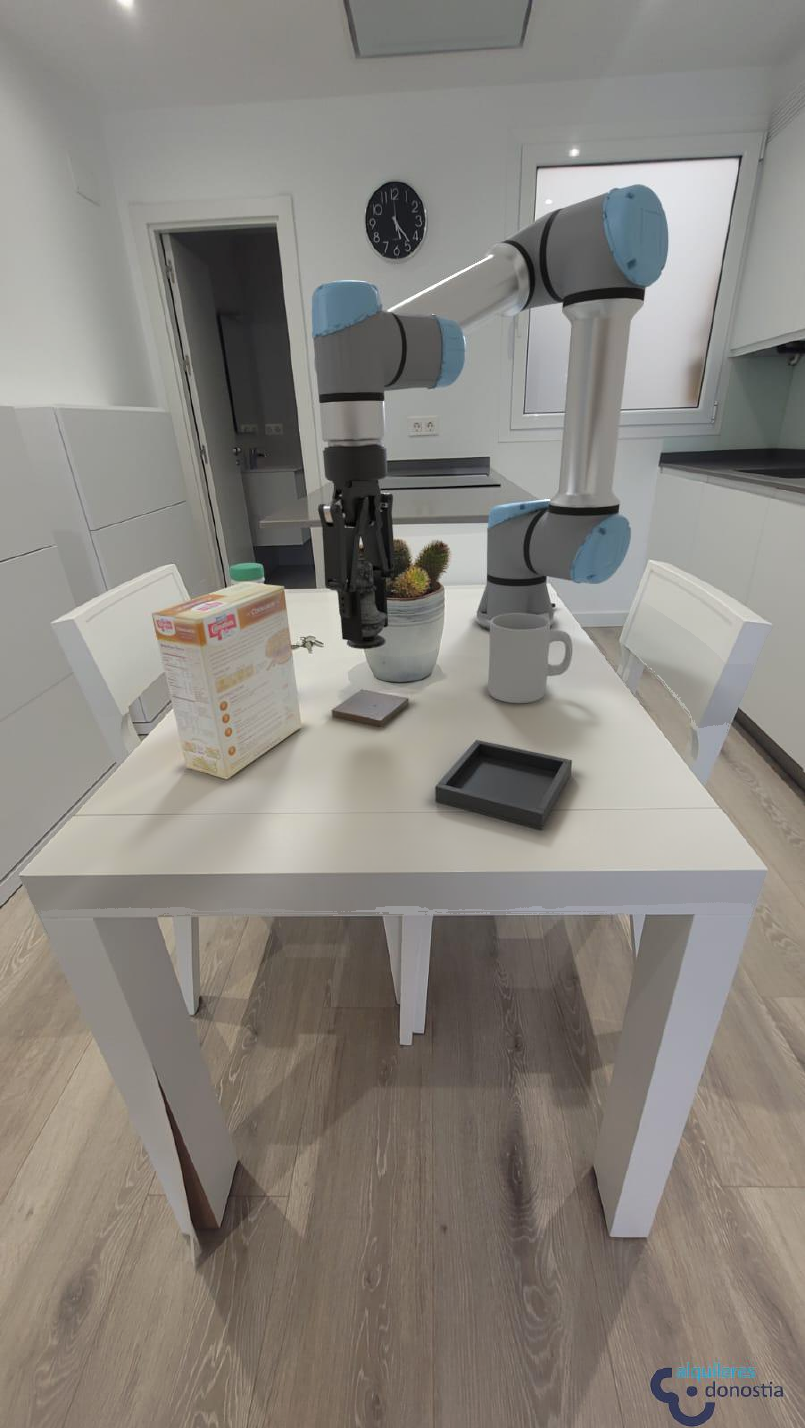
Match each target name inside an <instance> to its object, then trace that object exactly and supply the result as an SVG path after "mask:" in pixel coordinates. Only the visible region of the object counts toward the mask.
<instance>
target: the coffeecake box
mask: <svg viewBox="0 0 805 1428" xmlns="http://www.w3.org/2000/svg"><path fill="white" fill-rule="evenodd" d="M150 615H151V618H152V622H153V623H152V624H153V627H154V631H155V636H156V639H157V644H158V648H159V652H160V657H161V662H162V665H163V666H162V667H163V670H164V675H165V680H166V683H167V687H168V692H169V696H170V700H171V705H172V710H173V714H174V719H175V722H176V727H177V731H178V736H179V741H180V745H181V749H182V754H183V757H184V758H183V759H184V762H185V767H186V768H187V769H189V770H194V771H197V772H200V773H205V774H209V775H211V776H215V777H218V778H221V779H224V780H229V779H230V778H231V777H232V776H234V775H236V774H237V773H238V772H240V771H241V770H243V769H244V768H245V767H246V766H249V764H251V763H252V762H254V761H255V760H257V759H258V758H260V757H261V756H262V755H264V754H265V753H266V752H268V751H269V750H271V749H272V748H274V747H275V746H276V745H278V744H279V743H281V742H282V741H284V740H285V739H287V738H288V737H289V736H291V735H292V734H294V733H295V732H297V731H299V729H301V728H302V727H303V726H302V719H301V710H300V704H299V703H300V702H299V695H298V688H297V679H296V671H295V664H294V663H295V662H294V655H293V650H292V649H293V648H292V640H291V632H290V624H289V615H288V609H287V600H286V592H285V586H284V585H277V584H276V585H275V584H274V585H273V584H265V583H264V584H260V583H256V582H241V583H238V584H235V585H233V584H232V585H230V586H227V587H225V588H221V589H218V590H215V591H213V592H209V593H207V594H204V595H201V596H197V597H195V598H192V599H189V600H186V601H183V602H181V603H178V604H175V605H171V606H168V607H166V608H163V609H159V610H157V611H154V612H151V614H150Z"/></svg>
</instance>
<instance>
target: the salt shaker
mask: <svg viewBox="0 0 805 1428" xmlns="http://www.w3.org/2000/svg"><path fill="white" fill-rule="evenodd" d="M364 557H365V554H364V553H362V552H361V551H359V555H358V566H357V577H356V587H355V590H359V591H360V602H361V617H362V633H363V640H362V641H361V642H357V641H350V640H346V645H347V646H348V647H349V648H352V649H357V650H358V649H359V650H371V649H376V648H380V647H382V646H384V645H385V644H386V642H387V640H386V638H384V637H383V636H381V635H380V633H381V632H382V631H383V629H384V628H385V627H384V624H385V619H386V618H387V615H386V614H385V613H383V612H379V611H378V610H377V608H376V604H375V592H374V591H375V590H376V589H377V588H376V587H375V586H374V584H373V567H372V564H371V563H370V562H369V561H367V560H366V558H364Z"/></svg>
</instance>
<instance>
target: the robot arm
mask: <svg viewBox="0 0 805 1428" xmlns="http://www.w3.org/2000/svg"><path fill="white" fill-rule="evenodd" d="M669 241H670V240H669V225H668V220H667V216H666V211H665V210H664V207H663V204H662V201H661V200H660V198H659V196H658V194H657V193H656V191H654V190H653V189H652V188H650V187H649V186H648V185H645V184H641V183H637V184H632V185H629V186H624V187H621V188H618V187H614V188H612V189H610V190H609V191H607V192H605V193H602V194H598V195H597V196H593V197H590V198H587V199H584V200H582V201H579V202H576V203H574V204H573V203H572V204H570V205H567V206H565V207H562V208H558V209H555V210H553V211H550V212H548V213H546V214H544V215H542V216H540V217H539V218H537V219H536V220H534V221H532V222H531V223H529V224H527V225H526V226H524V227H523V228H521V229H520V230H518V231H516V232H515V233H513V234H511V235H510V236H508V237H506V238H505V239H504V240H502V241H500V242H498V243H496V244H494V245H493V246H491V247H490V248H489V249H488V250H487V251H486V253H485V254H484V256H483V258H482V260H481V261H479V262H477V263H475V264H472V265H471V266H468V267H467V268H465V269H463V270H461V271H459V272H457V273H455V274H453V275H451V276H449V277H447V278H446V279H444V280H442V281H440V282H438V283H436V284H434V285H432V286H429V287H428V288H426V289H424V290H422V291H420V292H418V293H416V294H415V295H413V296H410V297H409V298H407V299H405V300H403V301H401V302H398V303H397V304H394V305H393V306H391V307H389V308H387V309H383V304H382V301H381V292H380V289H379V288H378V286H376V284H373V283H370V282H369V281H363V280H355V279H353V280H351V279H350V280H347V279H346V280H345V279H344V280H335V281H329V282H326V283H325V282H324V283H322V284H321V285H318V286H317V287H316V288H315V289H314V291H313V294H312V296H311V327H312V328H311V330H312V331H311V337H312V341H313V349H314V350H313V351H314V360H313V362H314V370H315V373H316V383H317V393H318V395H317V396H318V402H319V413H320V427H321V439H322V441H323V442H324V443H325V442H327V446H325V447H324V448H323V449H324V450H322V458H323V469H324V478H325V479H326V480H327V481H329V482H332V483H333V492H332V495H331V496H332V497H331V498H332V499H331V501H329V502H328V503H320V504H318V506H317V511H318V514H319V520H320V523H321V531H322V534H321V535H322V551H323V568H324V569H323V570H324V571H323V572H324V585H325V588H326V589H328V590H330V591H335V592H336V593H337V599H338V600H337V602H338V611H339V613H338V614H339V617H340V627H341V640H344V641H348V640H350V641H357V642H361V641H362V640H363V633H362V617H361V602H360V591H359V590H355V587H356V577H357V566H358V559H359V556H358V555H359V554H360V544H361V545H362V548H363V552H364V553H363V554H364V557H365V560H367V561H369V562H370V563H371V564H372V567H373V584H374V586H375V587H376V588H377V589H376V590H375V591H374V592H375V604H376V608H377V610H378V611H379V612H383V613H385V614H386V615H387V618H386V619H385V624H384V627H383V628H387V627H389V619H388V618H389V616H388V615H389V613H388V598H387V597H388V595H387V594H388V593H387V591H388V590H387V579H393V578H394V575H395V571H394V570H395V568H396V557H395V543H394V542H395V540H394V527H393V525H394V524H393V503H394V496H393V494H392V493H389V492H388V493H386V492H382V490H381V487H380V482H379V480H383V479H386V477H387V476H388V457H387V456H388V455H387V453H388V452H387V448H386V446H385V444H383V443H382V441H383V440H385V439H386V438H387V426H386V409H385V392H388V391H389V392H390V391H399V390H400V391H401V390H409V389H423V388H424V389H427V390H435V389H436V388H446V387H449V386H451V385H453V384H454V383H455V382H457V380H458V379H459V377H460V375H461V373H462V371H463V368H464V366H465V363H466V352H467V350H466V339H465V338H466V337H465V336H466V335H468V334H470V333H472V332H473V331H475V330H477V329H478V328H480V327H482V326H484V325H486V324H488V323H489V322H491V321H492V320H495V319H496V318H498V317H503V318H511V317H514V316H516V315H517V314H520V313H521V312H523V311H526V310H530V309H534V308H539V307H544V306H550V305H556V304H562V305H561V308H562V309H561V313H562V314H563V315H564V316H565V317H566V319H567V320H568V322H569V323H570V325H571V326H570V336H569V337H570V339H569V351H568V365H567V378H566V391H565V403H564V404H565V405H564V416H563V429H562V430H563V431H562V441H561V444H562V446H561V455H560V456H561V457H560V467H559V468H560V469H559V479H558V480H559V481H558V490H557V492H556V493H555V495H554V496H552V498H550V499H538V500H529V501H528V500H527V501H521V502H520V501H519V502H511V503H503V504H499V505H495V506H493V507H492V508H491V509H490V511H489V513H488V523H487V528H486V533H487V534H486V535H487V537H486V538H487V539H486V583H485V588H484V590H483V593H482V596H481V599H480V602H479V604H478V607H477V610H476V623H477V624H478V625H479V626H480V627H482V628H484V629H487V630H490V622H491V620H492V619H493V618H494V617H496V616H499V615H503V614H510V613H527V614H534V615H539V616H542V617H545V618H547V619H548V620H549V621H550V627H551V626H552V625H553V624H554V615H555V613H554V608H556V603H554V602H552V601H551V597H550V592H549V588H548V583H547V582H548V581H547V580H548V578H549V577H550V578H553V579H560V580H564V581H569V582H572V583H576V584H588V585H599V584H602V583H604V582H606V581H608V580H609V579H611V578H612V577H613V576H614V575H615V574H616V573H617V571H618V570H619V568H620V567H621V566H622V564H623V562H624V560H625V558H626V557H627V554H628V552H629V551H628V550H629V549H630V548H629V547H630V544H631V538H632V528H631V526H630V521H629V519H628V518H627V517H625V516H624V515H623V514H620V506H621V501H620V499H619V498H618V497H617V495H616V494H615V493H614V491H613V485H614V483H613V482H614V475H615V466H616V465H615V464H616V458H617V448H618V439H619V430H620V423H621V412H622V403H623V396H624V395H623V394H624V385H625V379H626V378H625V377H626V368H627V360H628V351H629V342H630V341H629V340H630V334H631V333H630V332H631V323H632V320H633V318H634V317H635V315H636V314H637V313H638V312H639V311H640V310H641V309H642V308H643V307H644V305H645V304H644V303H645V296H646V289H647V288H648V287H651V286H652V285H653V284H655V283H656V282H657V281H658V280H659V279H660V277H661V276H662V274H663V271H664V269H665V266H666V264H667V259H668V254H669Z"/></svg>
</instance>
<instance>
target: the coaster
mask: <svg viewBox="0 0 805 1428" xmlns="http://www.w3.org/2000/svg"><path fill="white" fill-rule="evenodd" d="M409 704H410V703H409V697H405V696H398V695H393V694H388V693H384V692H383V693H382V692H378V691H372V690H367V689H363V688H362V689H360V690H359V691H357V692H356V693H354V694H353V695H351V696H350V697H348V698H347V699H346V700H344V701H343V702H341V703H340V704H339V705H337V706H335V707H334V708H332V709H331V716H332V717H334V718H339V719H342V720H348V721H352V722H357V723H360V724H365V725H369V726H375V727H380V728H382V727H383V726H384V725H386V724H387V723H388V722H389V721H391V719H394V717H395V716H397V715H398V714H399V713H400V712H401V711H403V710H404V709H405V708H406V707H407V706H409Z"/></svg>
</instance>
